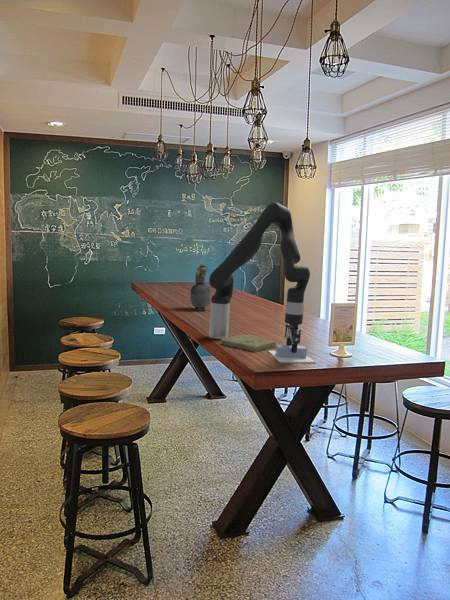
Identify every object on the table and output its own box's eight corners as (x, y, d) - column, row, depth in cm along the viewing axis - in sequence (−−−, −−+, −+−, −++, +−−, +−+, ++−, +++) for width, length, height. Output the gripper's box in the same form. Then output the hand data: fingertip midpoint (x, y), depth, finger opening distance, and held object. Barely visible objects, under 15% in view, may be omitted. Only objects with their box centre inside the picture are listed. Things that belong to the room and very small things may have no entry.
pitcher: (195, 311, 334) (197, 264, 330) (186, 307, 352) (189, 262, 348) (211, 311, 338) (214, 264, 334) (202, 307, 355) (204, 262, 351)
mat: (268, 351, 234) (268, 350, 234) (300, 352, 237) (300, 351, 237) (280, 362, 216) (280, 361, 216) (315, 363, 218) (315, 361, 218)
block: (302, 354, 230) (303, 345, 229) (306, 357, 224) (306, 348, 224) (275, 353, 228) (276, 344, 228) (278, 357, 223) (279, 347, 222)
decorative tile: (255, 353, 232) (255, 345, 231) (220, 345, 244) (220, 337, 244) (278, 347, 246) (279, 340, 246) (244, 340, 259) (245, 333, 258)
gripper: (308, 315, 217) (305, 354, 220) (297, 310, 231) (294, 347, 234) (290, 315, 216) (287, 354, 218) (280, 309, 230) (278, 346, 232)
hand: (291, 350), depth 226 cm, fingers open, 7 cm apart
